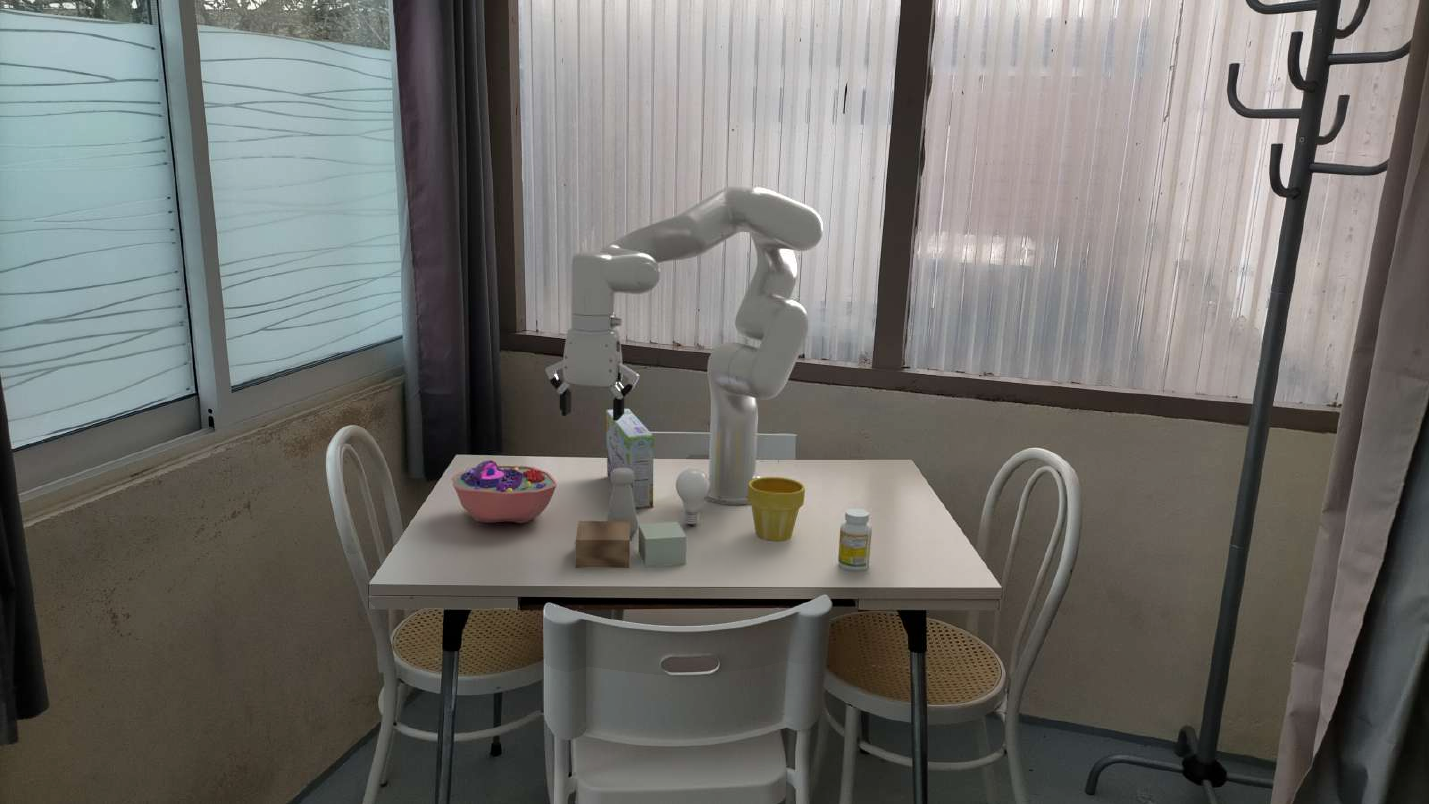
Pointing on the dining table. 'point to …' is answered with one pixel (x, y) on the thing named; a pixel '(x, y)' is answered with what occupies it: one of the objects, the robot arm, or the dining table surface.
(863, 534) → the supplement bottle
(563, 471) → the dining table surface
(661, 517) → the dining table surface
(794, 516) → the plant pot
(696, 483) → the lightbulb
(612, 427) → the snack box
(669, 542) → the sage block
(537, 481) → the cell model
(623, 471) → the salt shaker
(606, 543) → the walnut block
